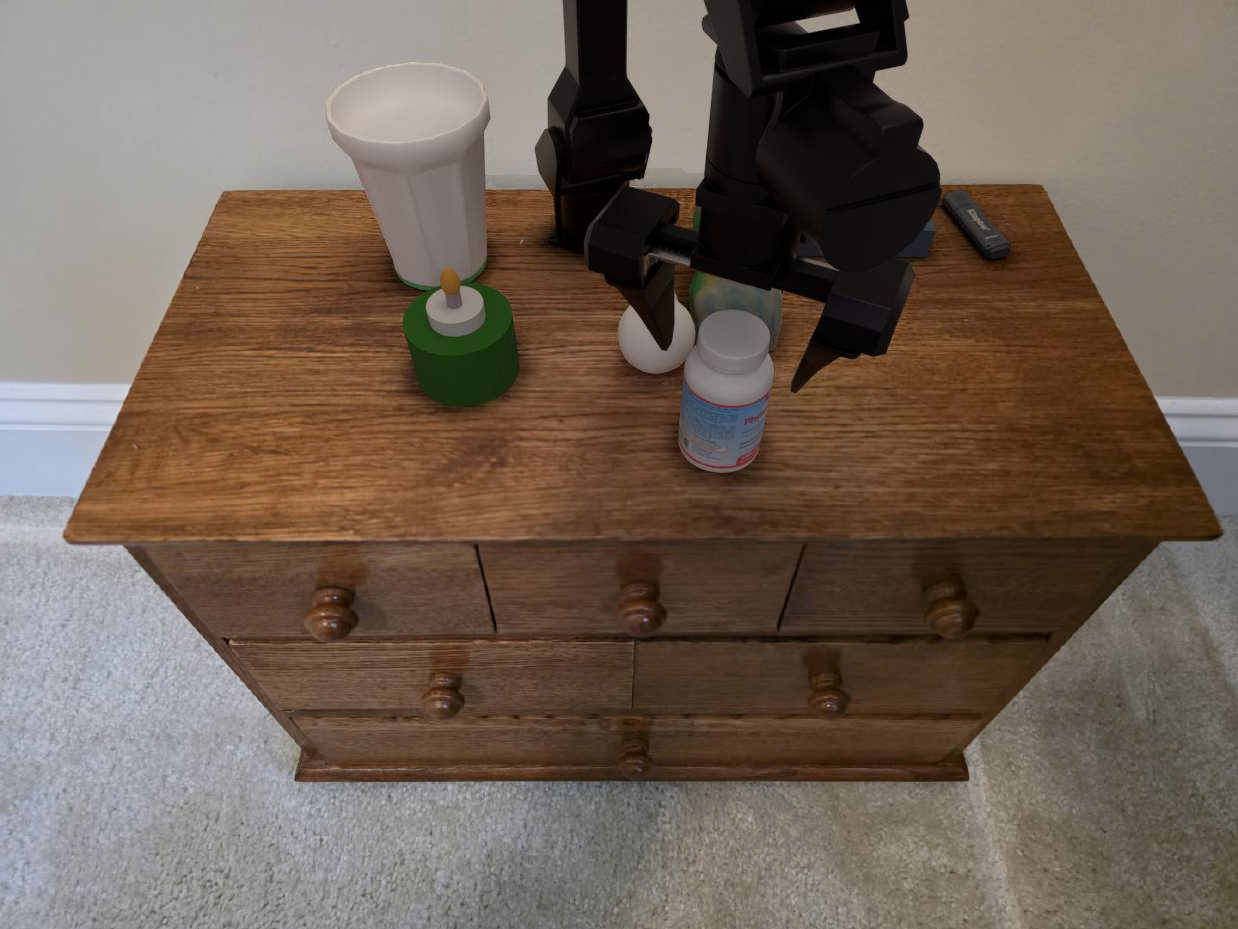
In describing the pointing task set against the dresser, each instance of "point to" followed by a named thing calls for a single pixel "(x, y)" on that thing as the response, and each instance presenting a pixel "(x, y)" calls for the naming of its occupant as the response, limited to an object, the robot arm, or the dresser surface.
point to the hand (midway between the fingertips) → (729, 366)
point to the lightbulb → (644, 348)
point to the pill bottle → (726, 392)
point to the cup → (419, 163)
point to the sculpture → (733, 299)
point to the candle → (462, 342)
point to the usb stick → (976, 224)
